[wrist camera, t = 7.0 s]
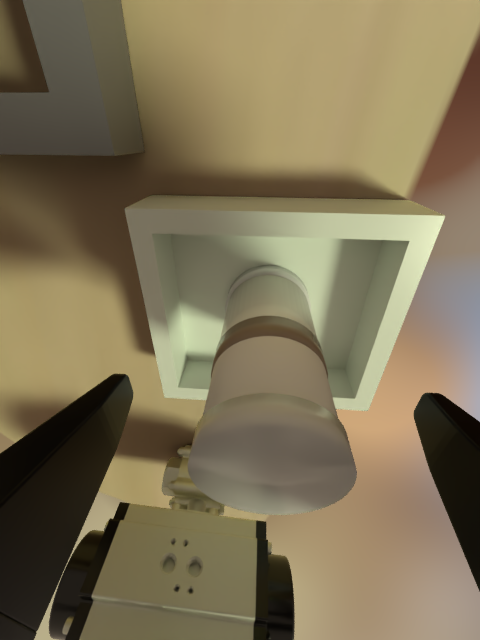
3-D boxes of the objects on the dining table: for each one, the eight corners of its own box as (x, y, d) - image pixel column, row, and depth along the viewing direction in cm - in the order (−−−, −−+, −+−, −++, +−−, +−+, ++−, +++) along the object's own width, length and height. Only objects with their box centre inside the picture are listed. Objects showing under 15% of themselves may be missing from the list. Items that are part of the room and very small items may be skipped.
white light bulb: (227, 333, 14) (194, 508, 8) (226, 263, 12) (178, 418, 5) (302, 337, 14) (337, 520, 7) (314, 266, 12) (377, 432, 5)
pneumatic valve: (274, 482, 23) (281, 747, 13) (135, 463, 23) (36, 712, 13) (287, 443, 20) (309, 751, 10) (127, 422, 20) (-11, 705, 10)
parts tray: (177, 363, 16) (164, 397, 14) (151, 195, 11) (124, 208, 9) (353, 373, 16) (368, 411, 14) (409, 199, 11) (445, 215, 9)
